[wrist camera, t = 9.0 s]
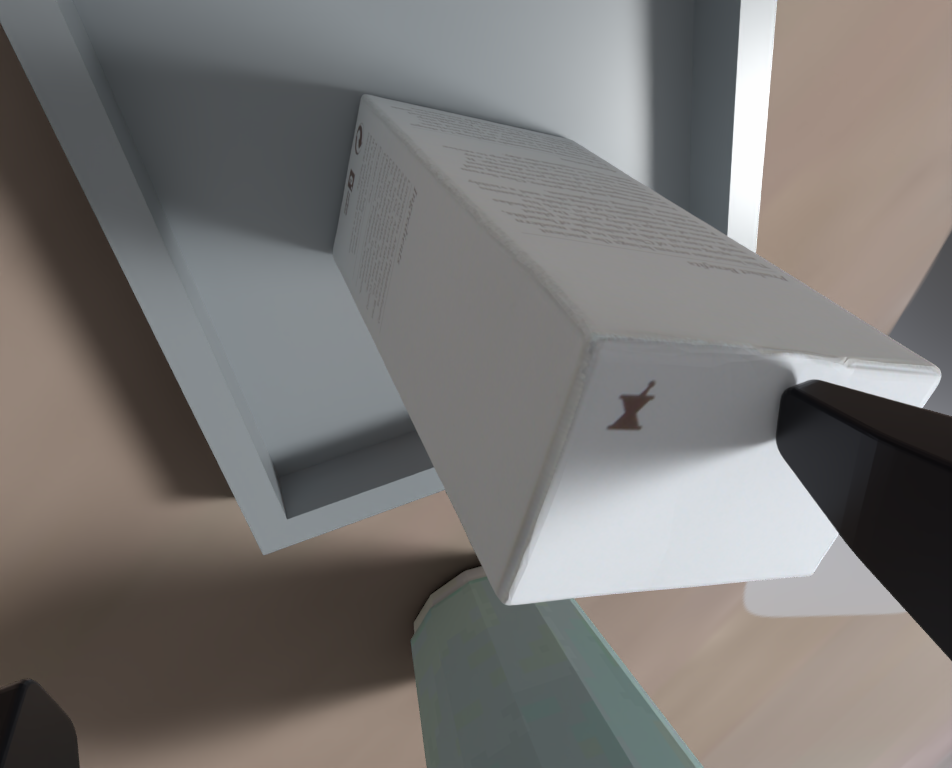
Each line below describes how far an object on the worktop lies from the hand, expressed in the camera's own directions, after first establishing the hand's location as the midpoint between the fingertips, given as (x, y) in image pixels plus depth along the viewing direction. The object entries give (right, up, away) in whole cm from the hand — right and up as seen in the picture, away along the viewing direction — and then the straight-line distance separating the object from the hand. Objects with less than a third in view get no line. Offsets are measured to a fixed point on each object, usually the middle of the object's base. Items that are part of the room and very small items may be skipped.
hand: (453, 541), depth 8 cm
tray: (0, +7, +11) cm, 13 cm away
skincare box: (0, +7, +11) cm, 13 cm away
